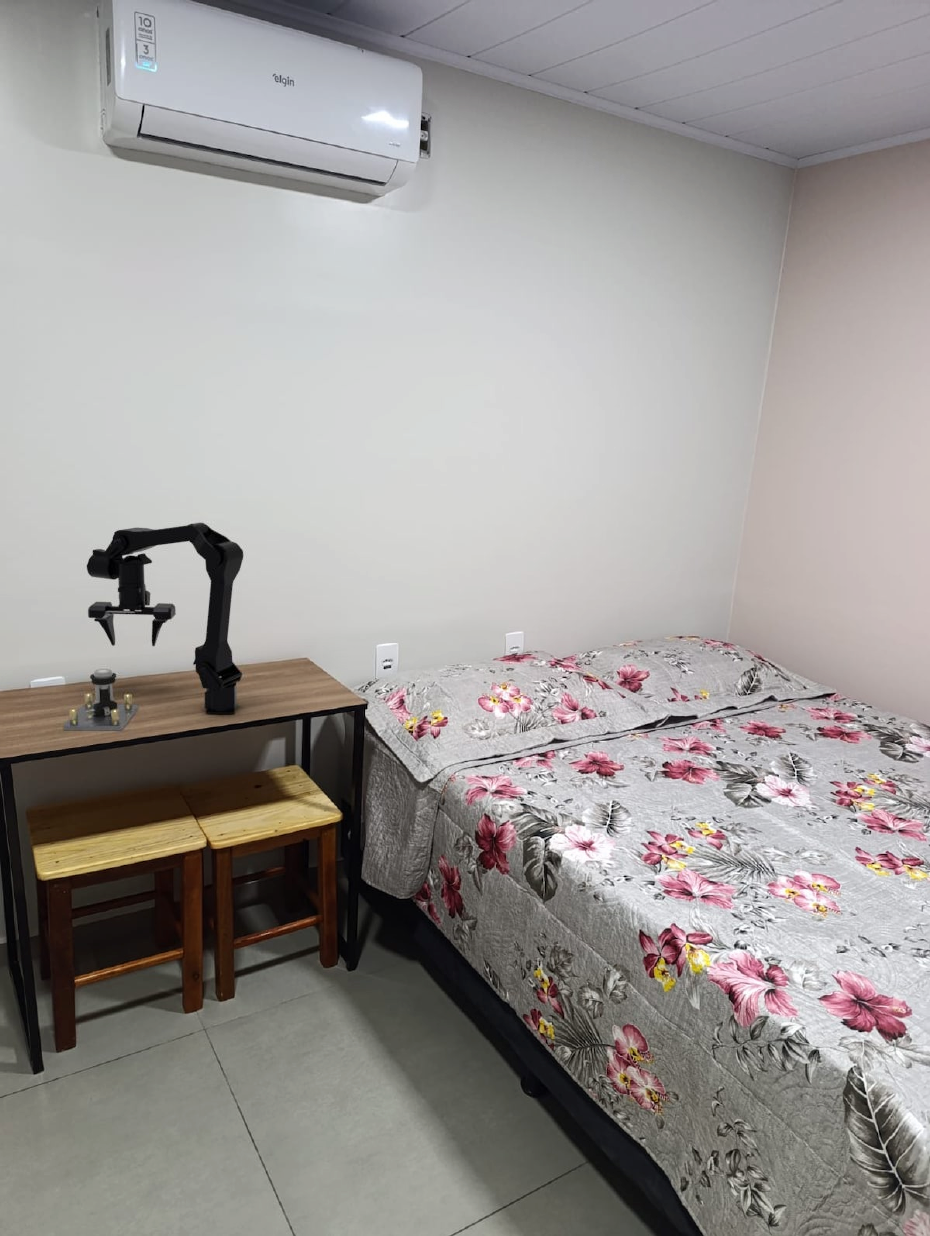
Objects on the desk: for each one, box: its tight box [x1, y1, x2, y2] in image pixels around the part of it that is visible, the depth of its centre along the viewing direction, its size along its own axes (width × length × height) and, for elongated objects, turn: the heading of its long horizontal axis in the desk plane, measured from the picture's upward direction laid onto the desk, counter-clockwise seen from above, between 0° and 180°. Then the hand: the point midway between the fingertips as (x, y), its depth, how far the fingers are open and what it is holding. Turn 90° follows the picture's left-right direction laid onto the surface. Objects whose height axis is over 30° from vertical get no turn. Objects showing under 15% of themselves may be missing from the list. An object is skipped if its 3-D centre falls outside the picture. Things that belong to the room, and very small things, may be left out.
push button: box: [87, 668, 118, 717], centre depth 189 cm, size 7×5×10 cm
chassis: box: [62, 692, 139, 732], centre depth 190 cm, size 12×14×4 cm
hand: (133, 645), depth 204 cm, fingers open, 9 cm apart
